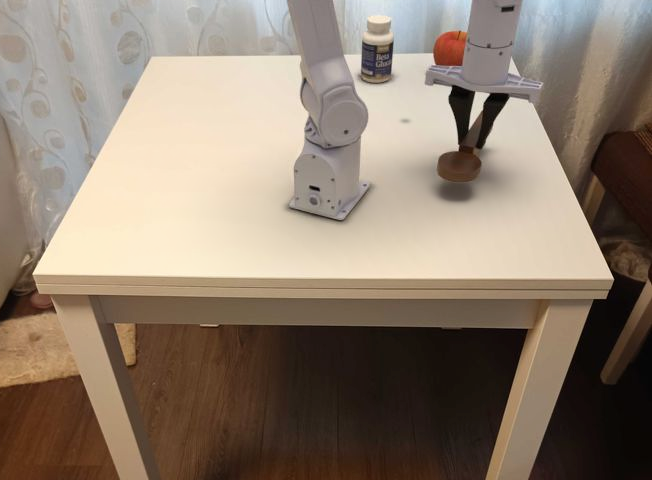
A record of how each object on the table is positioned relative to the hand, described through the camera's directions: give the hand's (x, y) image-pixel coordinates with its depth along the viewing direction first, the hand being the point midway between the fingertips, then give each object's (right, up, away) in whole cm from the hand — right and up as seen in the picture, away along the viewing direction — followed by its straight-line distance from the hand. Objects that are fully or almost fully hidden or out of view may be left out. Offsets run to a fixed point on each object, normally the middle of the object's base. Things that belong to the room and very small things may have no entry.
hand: (471, 143), depth 87 cm
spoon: (0, -1, +1) cm, 1 cm away
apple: (+3, +21, +26) cm, 34 cm away
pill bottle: (-10, +20, +27) cm, 35 cm away
